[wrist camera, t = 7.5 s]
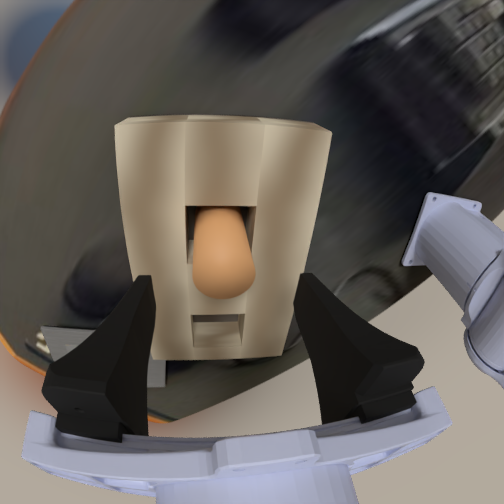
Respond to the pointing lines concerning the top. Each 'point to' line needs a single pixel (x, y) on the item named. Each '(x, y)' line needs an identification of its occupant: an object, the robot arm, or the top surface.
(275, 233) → the socket board
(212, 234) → the dowel
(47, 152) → the top surface
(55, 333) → the electrical outlet
